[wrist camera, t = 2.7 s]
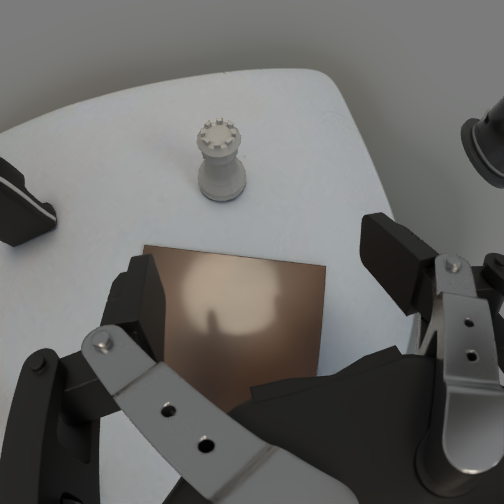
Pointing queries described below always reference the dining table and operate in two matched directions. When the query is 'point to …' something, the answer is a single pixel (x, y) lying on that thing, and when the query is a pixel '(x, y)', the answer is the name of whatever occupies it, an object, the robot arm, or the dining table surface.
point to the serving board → (239, 320)
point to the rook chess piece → (220, 161)
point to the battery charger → (20, 209)
